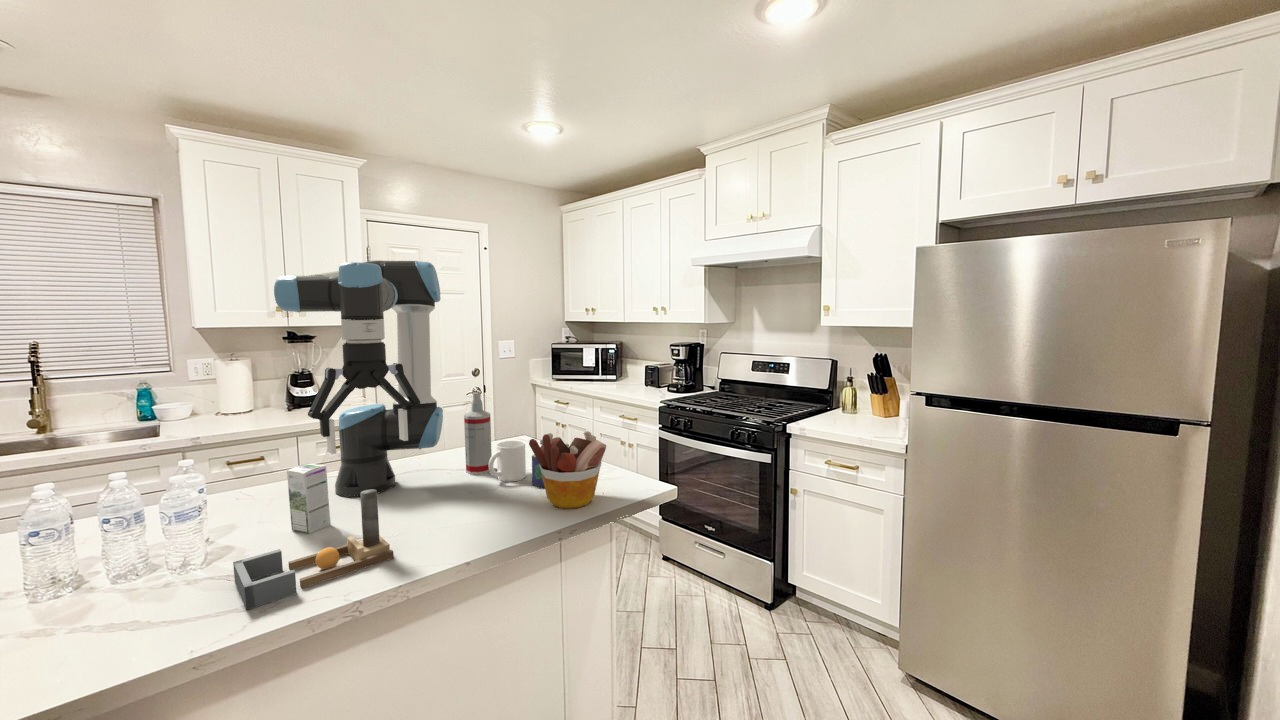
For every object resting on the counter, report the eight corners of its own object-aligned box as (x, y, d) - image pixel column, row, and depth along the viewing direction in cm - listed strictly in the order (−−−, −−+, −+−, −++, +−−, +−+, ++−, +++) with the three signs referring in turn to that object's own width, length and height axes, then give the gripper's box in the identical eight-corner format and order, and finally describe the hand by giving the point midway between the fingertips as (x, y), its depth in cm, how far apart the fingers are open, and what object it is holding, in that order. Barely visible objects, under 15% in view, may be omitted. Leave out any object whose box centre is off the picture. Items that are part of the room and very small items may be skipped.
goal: (234, 582, 94) (233, 562, 94) (281, 568, 100) (280, 549, 99) (246, 610, 86) (244, 587, 85) (296, 593, 91) (295, 571, 90)
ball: (313, 568, 100) (312, 548, 99) (336, 560, 103) (335, 541, 102) (319, 575, 97) (317, 555, 97) (342, 568, 100) (341, 548, 99)
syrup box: (331, 524, 120) (328, 464, 119) (308, 534, 115) (304, 472, 113) (314, 521, 122) (310, 462, 121) (290, 531, 117) (285, 469, 115)
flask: (560, 488, 144) (560, 451, 143) (554, 491, 142) (553, 454, 141) (535, 483, 149) (534, 447, 148) (529, 486, 146) (528, 449, 145)
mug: (497, 487, 145) (496, 452, 144) (481, 481, 151) (480, 447, 150) (531, 477, 154) (530, 443, 153) (515, 471, 160) (514, 439, 159)
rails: (289, 569, 99) (288, 561, 99) (376, 542, 111) (376, 535, 111) (301, 588, 92) (301, 580, 92) (393, 558, 104) (393, 551, 104)
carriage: (348, 552, 105) (344, 491, 104) (378, 543, 110) (375, 484, 108) (359, 564, 101) (355, 500, 99) (390, 554, 105) (387, 493, 104)
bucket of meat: (572, 485, 147) (571, 417, 145) (617, 497, 138) (616, 424, 136) (519, 507, 131) (517, 431, 129) (566, 522, 121) (564, 440, 119)
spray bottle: (461, 474, 157) (458, 394, 154) (473, 466, 164) (470, 390, 162) (485, 475, 156) (482, 394, 153) (496, 468, 163) (493, 390, 160)
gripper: (295, 345, 90) (302, 462, 92) (433, 339, 108) (437, 437, 110) (284, 343, 95) (292, 454, 97) (418, 338, 113) (422, 432, 115)
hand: (369, 446), depth 104 cm, fingers open, 13 cm apart
